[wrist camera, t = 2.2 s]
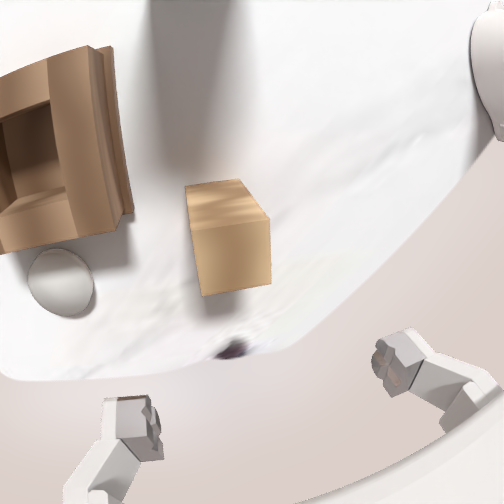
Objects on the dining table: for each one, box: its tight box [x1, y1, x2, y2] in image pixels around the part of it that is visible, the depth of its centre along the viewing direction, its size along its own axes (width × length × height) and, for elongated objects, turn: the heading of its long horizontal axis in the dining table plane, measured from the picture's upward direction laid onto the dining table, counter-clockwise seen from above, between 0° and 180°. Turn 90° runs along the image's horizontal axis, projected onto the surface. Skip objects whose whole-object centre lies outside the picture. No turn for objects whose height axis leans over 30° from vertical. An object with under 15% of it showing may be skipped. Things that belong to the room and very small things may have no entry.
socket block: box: [0, 45, 134, 255], centre depth 15 cm, size 12×12×5 cm
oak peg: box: [185, 179, 271, 296], centre depth 20 cm, size 4×4×8 cm
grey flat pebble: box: [28, 248, 94, 316], centre depth 22 cm, size 6×6×2 cm
